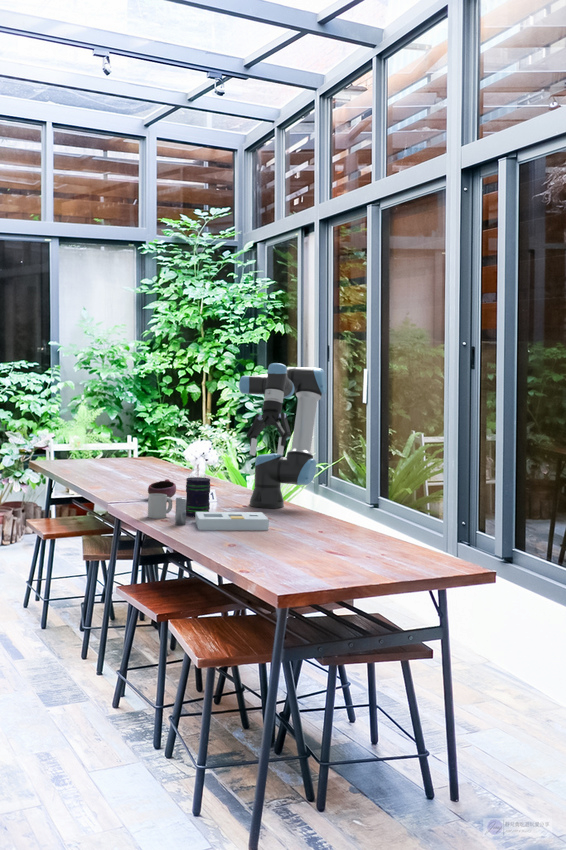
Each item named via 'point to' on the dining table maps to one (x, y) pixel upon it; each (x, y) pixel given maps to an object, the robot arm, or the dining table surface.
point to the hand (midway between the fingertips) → (265, 454)
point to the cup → (158, 505)
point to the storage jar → (197, 495)
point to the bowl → (163, 488)
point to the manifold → (231, 521)
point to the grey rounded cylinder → (180, 511)
